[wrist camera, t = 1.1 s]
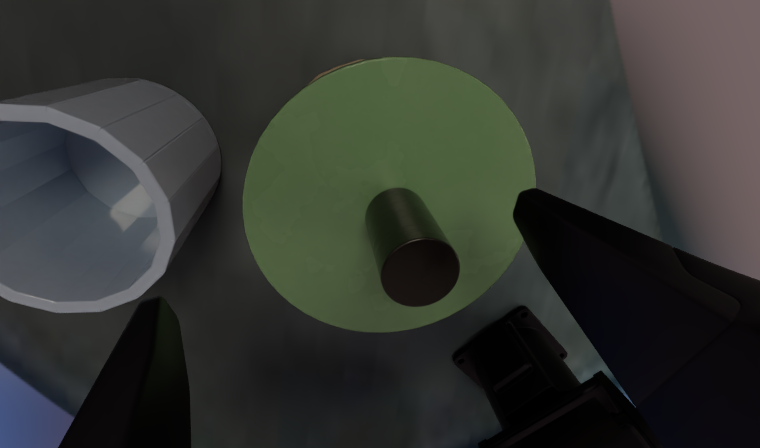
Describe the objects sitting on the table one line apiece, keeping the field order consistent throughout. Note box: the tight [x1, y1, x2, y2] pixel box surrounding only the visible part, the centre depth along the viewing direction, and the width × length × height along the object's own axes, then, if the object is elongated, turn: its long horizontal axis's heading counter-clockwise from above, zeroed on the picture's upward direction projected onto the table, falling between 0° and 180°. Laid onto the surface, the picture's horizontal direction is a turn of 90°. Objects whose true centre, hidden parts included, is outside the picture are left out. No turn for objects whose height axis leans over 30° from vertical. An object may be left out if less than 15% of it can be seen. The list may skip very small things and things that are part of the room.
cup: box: [0, 78, 221, 313], centre depth 17 cm, size 7×7×8 cm
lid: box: [242, 57, 536, 333], centre depth 14 cm, size 11×11×5 cm
